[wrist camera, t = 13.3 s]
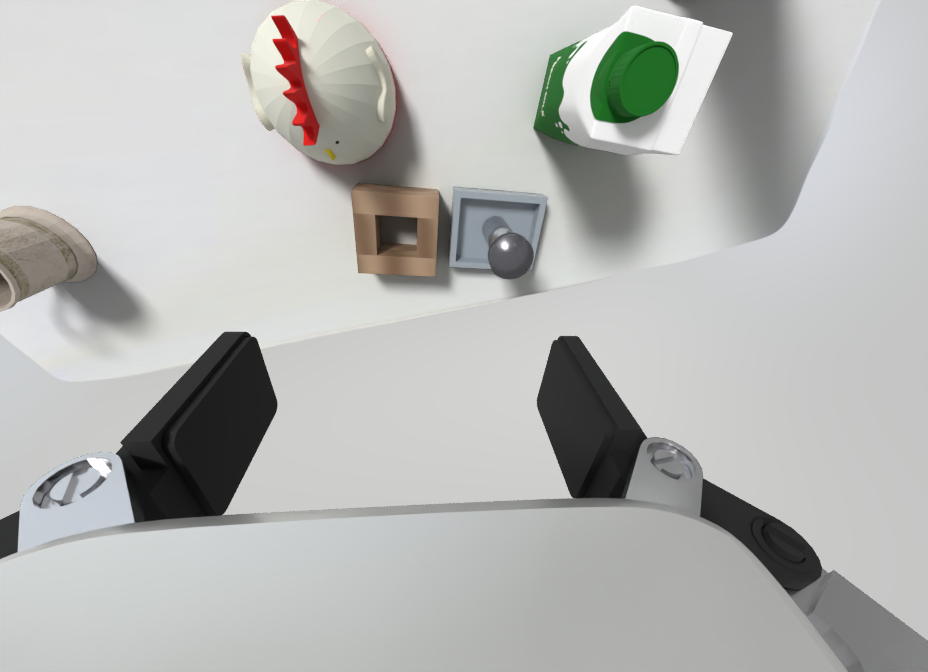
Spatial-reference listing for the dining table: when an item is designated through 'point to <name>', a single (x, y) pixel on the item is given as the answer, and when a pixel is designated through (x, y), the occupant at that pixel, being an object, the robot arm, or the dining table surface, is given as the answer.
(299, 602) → the robot arm
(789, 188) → the dining table surface
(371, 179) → the dining table surface
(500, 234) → the pin
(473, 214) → the tray
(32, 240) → the mug
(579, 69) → the milk carton
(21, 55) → the dining table surface
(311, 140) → the kitchen timer
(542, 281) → the dining table surface
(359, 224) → the socket block
